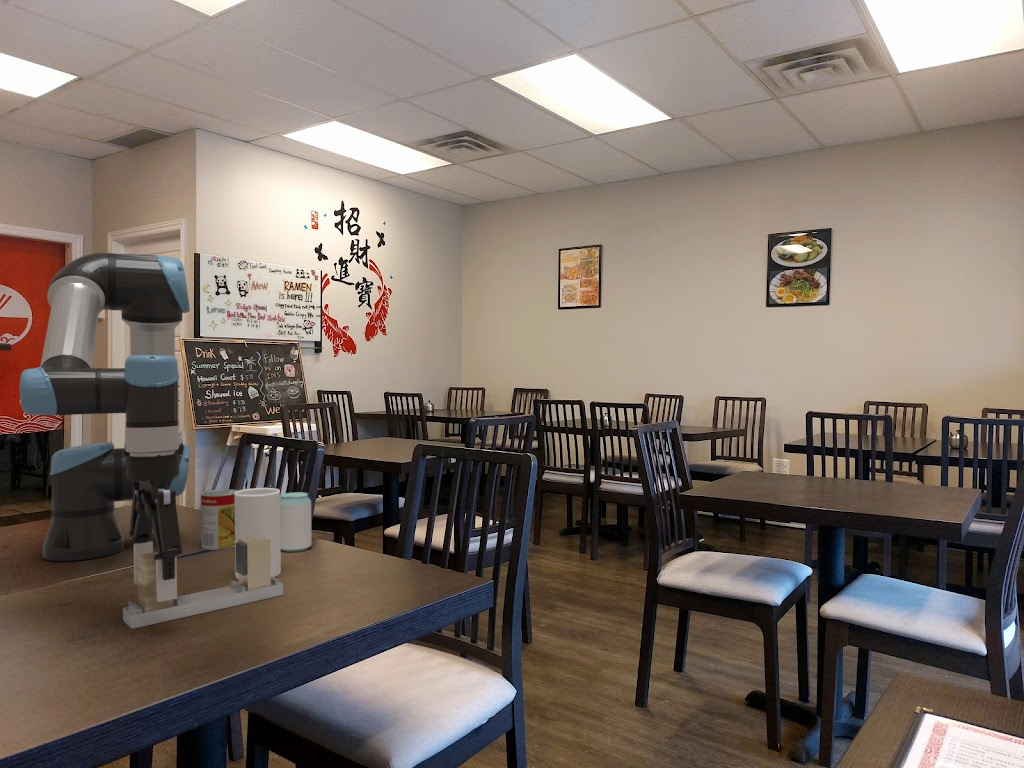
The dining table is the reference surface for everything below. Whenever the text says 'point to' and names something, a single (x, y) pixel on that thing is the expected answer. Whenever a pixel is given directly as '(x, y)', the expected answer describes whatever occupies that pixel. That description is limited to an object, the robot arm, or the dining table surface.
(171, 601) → the block
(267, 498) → the cup
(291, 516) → the can
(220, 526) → the canned food
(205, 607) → the rail
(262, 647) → the dining table surface
